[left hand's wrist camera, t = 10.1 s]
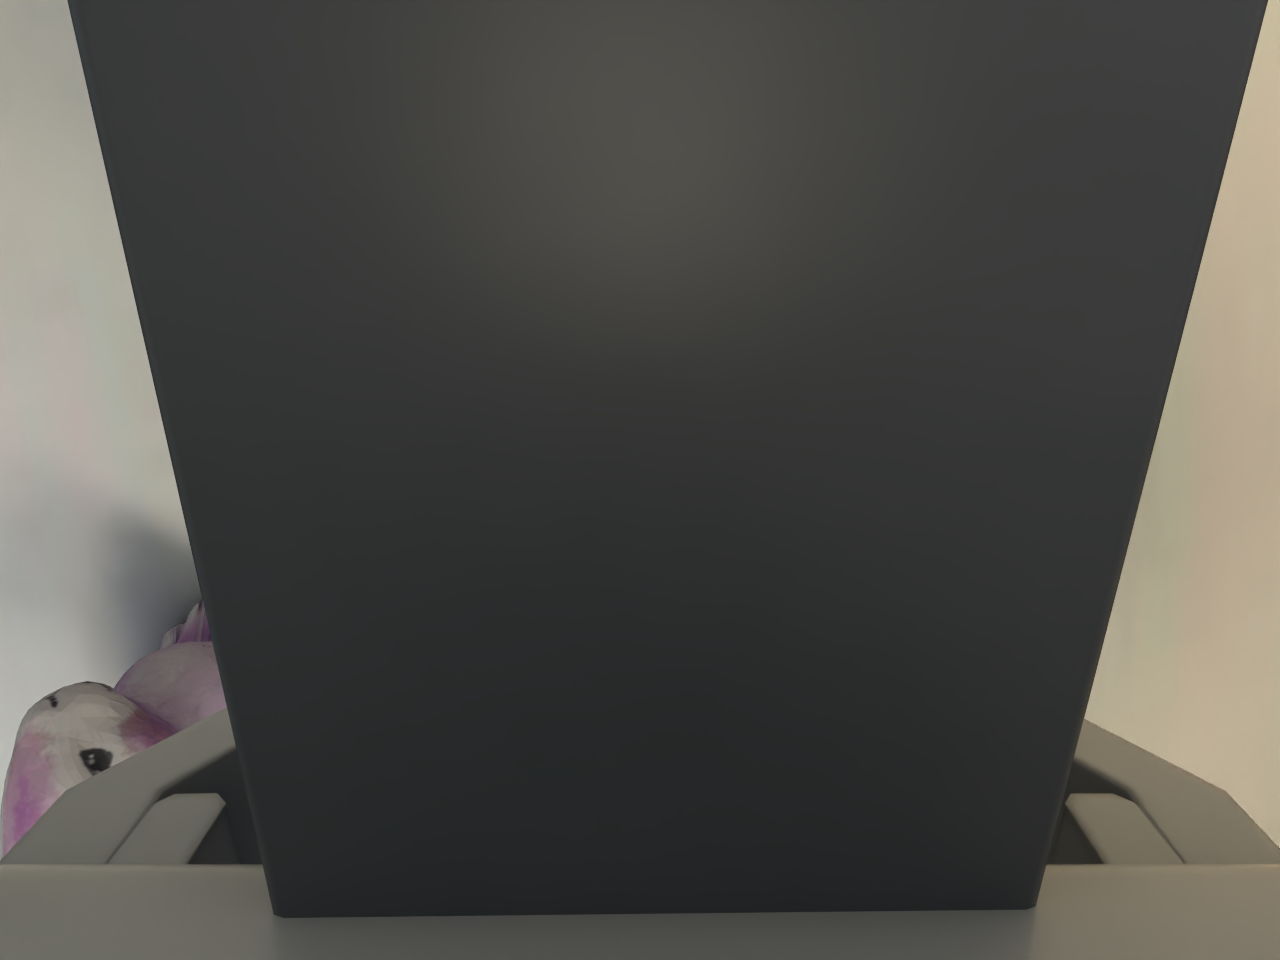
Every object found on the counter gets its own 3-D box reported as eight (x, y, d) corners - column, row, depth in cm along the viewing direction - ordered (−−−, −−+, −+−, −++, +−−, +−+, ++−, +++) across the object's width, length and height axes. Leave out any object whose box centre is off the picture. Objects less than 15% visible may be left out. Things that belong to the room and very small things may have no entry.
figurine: (222, 537, 33) (-75, 808, 19) (393, 700, 36) (244, 1036, 22) (73, 654, 35) (-293, 977, 21) (247, 799, 38) (27, 1165, 24)
